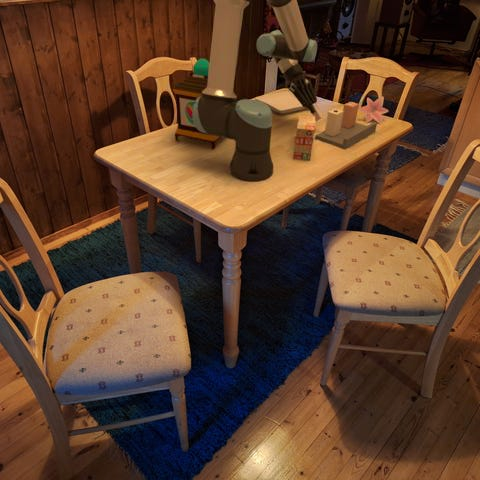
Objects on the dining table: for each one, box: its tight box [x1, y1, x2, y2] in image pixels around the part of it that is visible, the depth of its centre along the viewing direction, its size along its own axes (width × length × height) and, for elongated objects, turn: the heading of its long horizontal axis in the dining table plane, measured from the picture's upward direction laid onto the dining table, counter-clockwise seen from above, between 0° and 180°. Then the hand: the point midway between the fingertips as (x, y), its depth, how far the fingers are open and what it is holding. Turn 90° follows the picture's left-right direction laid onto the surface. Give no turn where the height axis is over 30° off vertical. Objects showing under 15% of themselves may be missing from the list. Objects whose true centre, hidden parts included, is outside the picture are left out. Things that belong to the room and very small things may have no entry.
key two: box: [341, 101, 360, 128], centre depth 174 cm, size 5×4×9 cm
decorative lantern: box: [172, 58, 222, 150], centre depth 158 cm, size 20×20×30 cm
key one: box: [324, 108, 344, 136], centre depth 166 cm, size 5×4×9 cm
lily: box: [358, 96, 389, 125], centre depth 185 cm, size 12×12×10 cm
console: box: [314, 121, 378, 150], centre depth 171 cm, size 24×14×4 cm, turn 137°
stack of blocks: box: [292, 114, 316, 162], centre depth 158 cm, size 21×6×12 cm, turn 170°
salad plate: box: [254, 90, 308, 115], centre depth 197 cm, size 21×21×3 cm
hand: (319, 119), depth 171 cm, fingers closed
